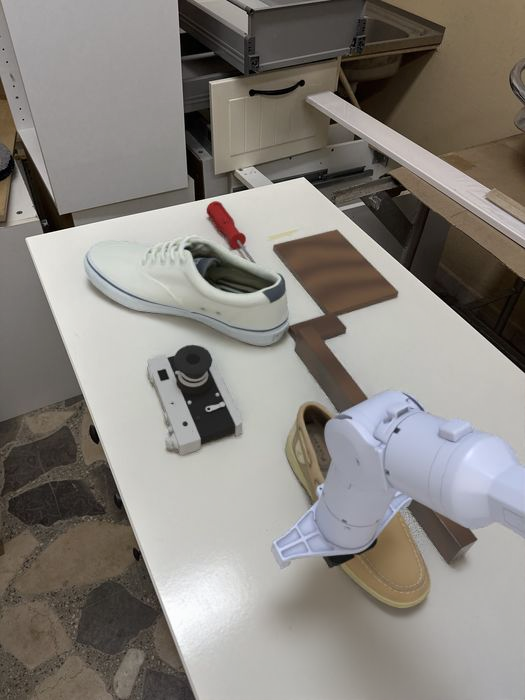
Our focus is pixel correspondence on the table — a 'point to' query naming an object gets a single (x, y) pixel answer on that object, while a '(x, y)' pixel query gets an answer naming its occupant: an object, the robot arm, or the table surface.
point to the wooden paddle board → (335, 299)
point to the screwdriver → (227, 226)
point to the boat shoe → (392, 543)
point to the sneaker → (193, 285)
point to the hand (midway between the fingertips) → (330, 557)
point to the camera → (193, 398)
